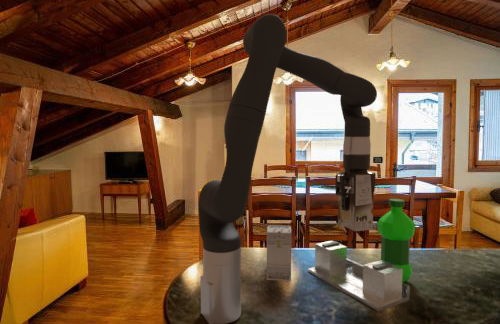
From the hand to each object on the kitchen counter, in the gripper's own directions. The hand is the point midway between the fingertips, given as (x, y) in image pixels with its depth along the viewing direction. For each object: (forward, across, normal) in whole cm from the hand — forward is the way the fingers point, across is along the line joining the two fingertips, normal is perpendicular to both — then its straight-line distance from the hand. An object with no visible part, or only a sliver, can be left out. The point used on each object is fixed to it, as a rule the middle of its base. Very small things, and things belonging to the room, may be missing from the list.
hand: (355, 208), depth 95 cm
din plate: (+23, 0, 0) cm, 23 cm away
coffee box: (+6, 0, 0) cm, 6 cm away
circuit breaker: (+23, +14, -19) cm, 33 cm away
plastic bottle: (+23, -13, +4) cm, 27 cm away
